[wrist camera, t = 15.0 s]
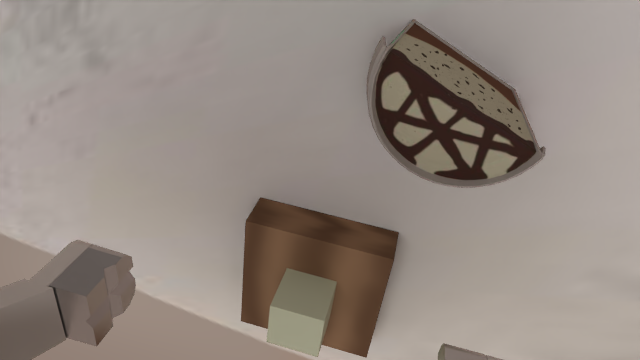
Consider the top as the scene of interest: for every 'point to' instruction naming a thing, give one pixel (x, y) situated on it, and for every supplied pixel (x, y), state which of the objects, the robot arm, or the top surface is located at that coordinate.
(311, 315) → the sage block
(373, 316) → the walnut base
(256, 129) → the top surface
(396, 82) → the food container
